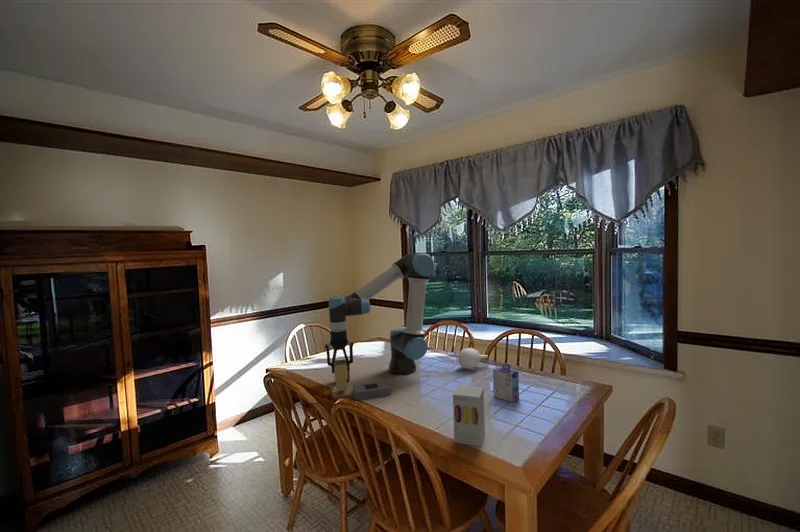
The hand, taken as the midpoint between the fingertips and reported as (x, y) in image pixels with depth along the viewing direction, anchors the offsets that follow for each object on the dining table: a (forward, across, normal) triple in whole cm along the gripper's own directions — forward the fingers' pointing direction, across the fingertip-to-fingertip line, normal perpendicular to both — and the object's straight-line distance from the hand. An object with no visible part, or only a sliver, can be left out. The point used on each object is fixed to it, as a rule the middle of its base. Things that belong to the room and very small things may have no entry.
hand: (341, 378), depth 171 cm
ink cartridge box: (+7, -68, +32) cm, 76 cm away
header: (+7, -13, +7) cm, 16 cm away
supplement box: (+7, -39, +57) cm, 69 cm away
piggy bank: (+7, -72, -9) cm, 73 cm away
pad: (+7, 0, 0) cm, 7 cm away
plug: (+5, 0, 0) cm, 5 cm away
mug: (+7, -1, -13) cm, 15 cm away
